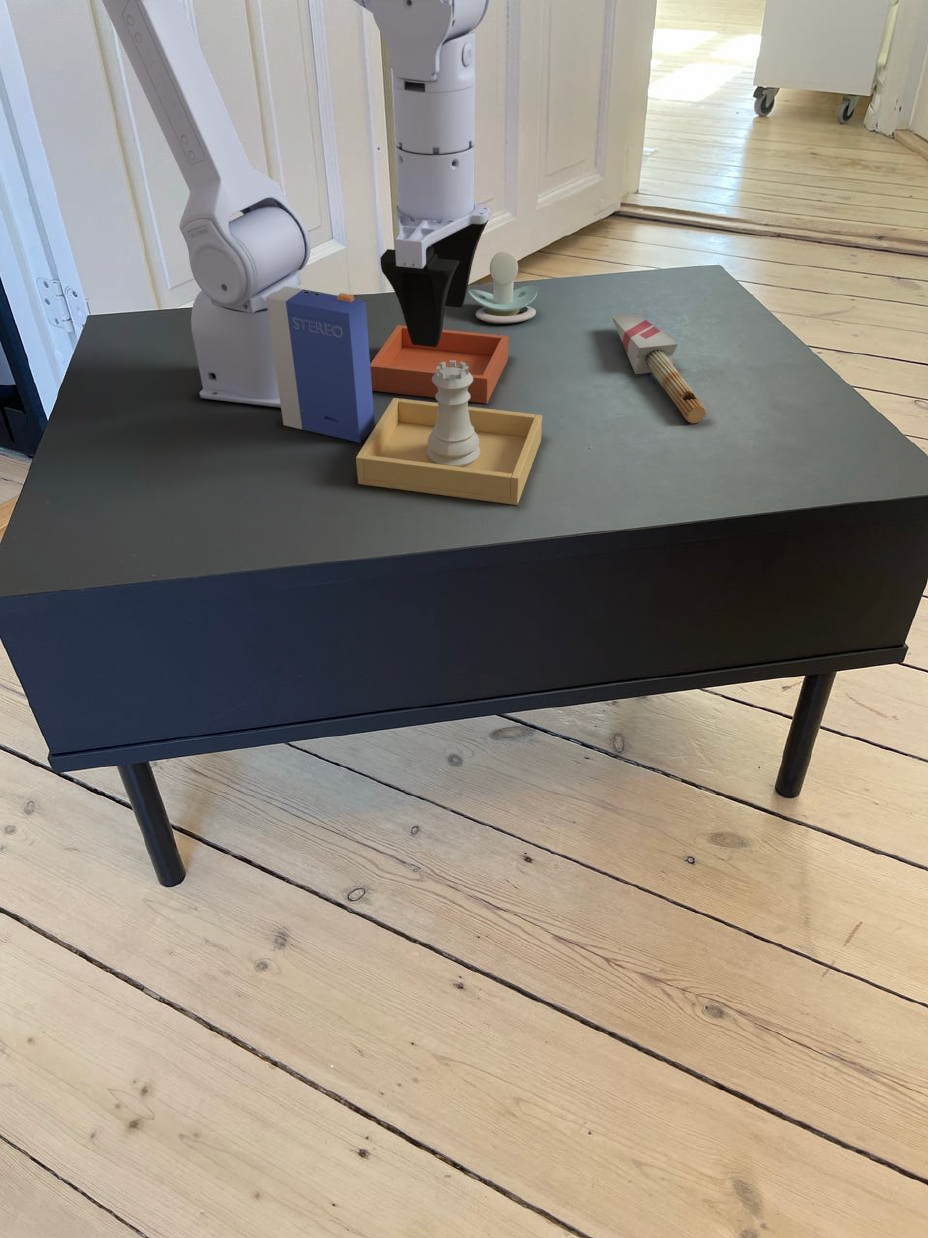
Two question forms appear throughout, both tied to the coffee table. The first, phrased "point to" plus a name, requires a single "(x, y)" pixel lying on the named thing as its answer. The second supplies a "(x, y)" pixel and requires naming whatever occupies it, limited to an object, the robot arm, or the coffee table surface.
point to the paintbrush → (657, 361)
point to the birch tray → (405, 465)
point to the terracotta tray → (416, 365)
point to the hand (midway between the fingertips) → (438, 323)
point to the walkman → (322, 362)
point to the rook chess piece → (453, 418)
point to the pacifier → (504, 293)
